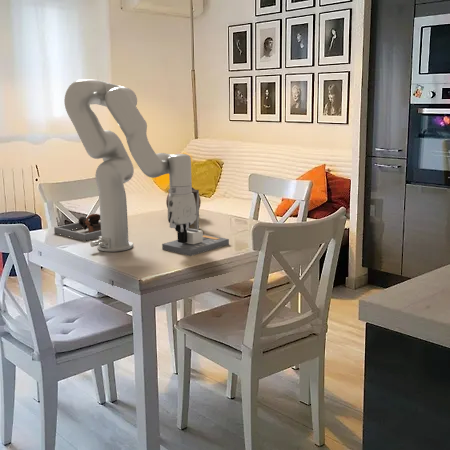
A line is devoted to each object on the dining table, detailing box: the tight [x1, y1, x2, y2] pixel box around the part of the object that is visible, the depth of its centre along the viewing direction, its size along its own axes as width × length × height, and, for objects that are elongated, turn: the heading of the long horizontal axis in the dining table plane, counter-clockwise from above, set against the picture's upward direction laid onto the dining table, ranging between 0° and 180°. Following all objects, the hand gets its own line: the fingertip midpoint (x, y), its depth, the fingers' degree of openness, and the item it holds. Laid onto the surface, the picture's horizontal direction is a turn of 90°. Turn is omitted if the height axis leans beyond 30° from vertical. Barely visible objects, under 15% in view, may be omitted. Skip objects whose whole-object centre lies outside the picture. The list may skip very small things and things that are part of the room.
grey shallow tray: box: [53, 221, 101, 242], centre depth 237 cm, size 18×20×2 cm
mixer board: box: [161, 233, 230, 257], centre depth 213 cm, size 20×14×2 cm
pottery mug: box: [77, 213, 101, 233], centre depth 238 cm, size 12×10×8 cm
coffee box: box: [189, 189, 200, 230], centre depth 239 cm, size 9×6×16 cm
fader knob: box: [186, 229, 204, 244], centre depth 211 cm, size 5×6×5 cm
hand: (182, 242), depth 208 cm, fingers closed
